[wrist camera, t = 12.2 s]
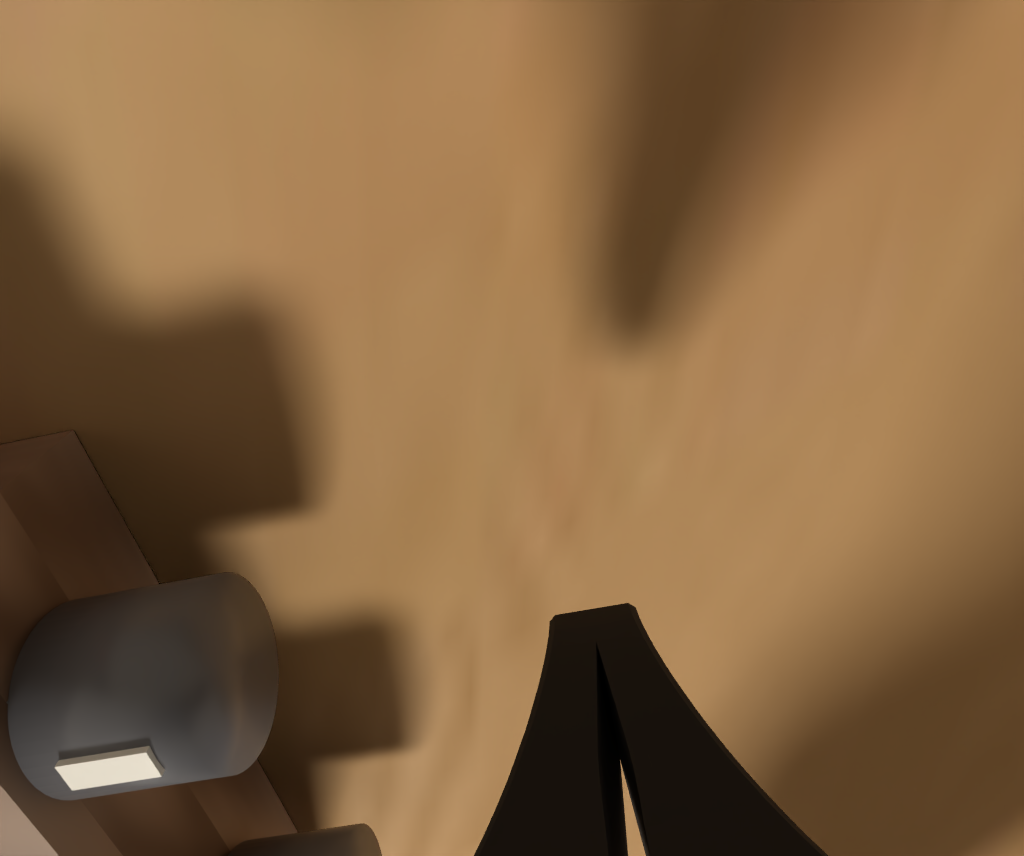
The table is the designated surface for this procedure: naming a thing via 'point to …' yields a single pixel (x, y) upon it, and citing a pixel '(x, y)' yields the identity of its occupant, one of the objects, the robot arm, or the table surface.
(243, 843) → the knob
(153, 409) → the table surface
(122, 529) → the mount
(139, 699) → the knob
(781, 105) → the table surface
